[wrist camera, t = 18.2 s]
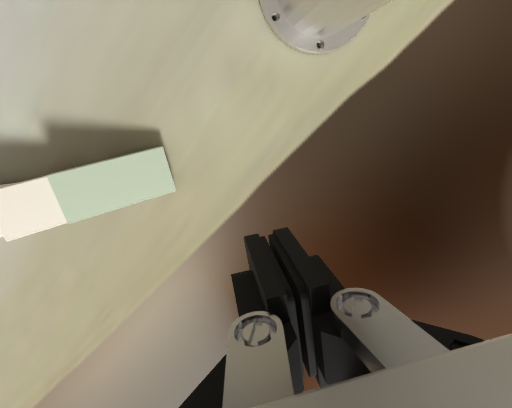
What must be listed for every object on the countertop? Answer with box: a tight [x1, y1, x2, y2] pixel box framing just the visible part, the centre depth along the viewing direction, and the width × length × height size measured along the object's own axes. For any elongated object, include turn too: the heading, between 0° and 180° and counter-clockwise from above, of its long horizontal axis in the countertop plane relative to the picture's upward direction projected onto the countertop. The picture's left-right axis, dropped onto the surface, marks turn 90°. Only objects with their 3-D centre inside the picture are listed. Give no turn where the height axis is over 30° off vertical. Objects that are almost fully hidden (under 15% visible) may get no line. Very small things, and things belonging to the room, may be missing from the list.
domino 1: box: [0, 175, 67, 242], centre depth 31 cm, size 2×5×11 cm
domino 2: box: [47, 146, 176, 224], centre depth 32 cm, size 2×5×11 cm
